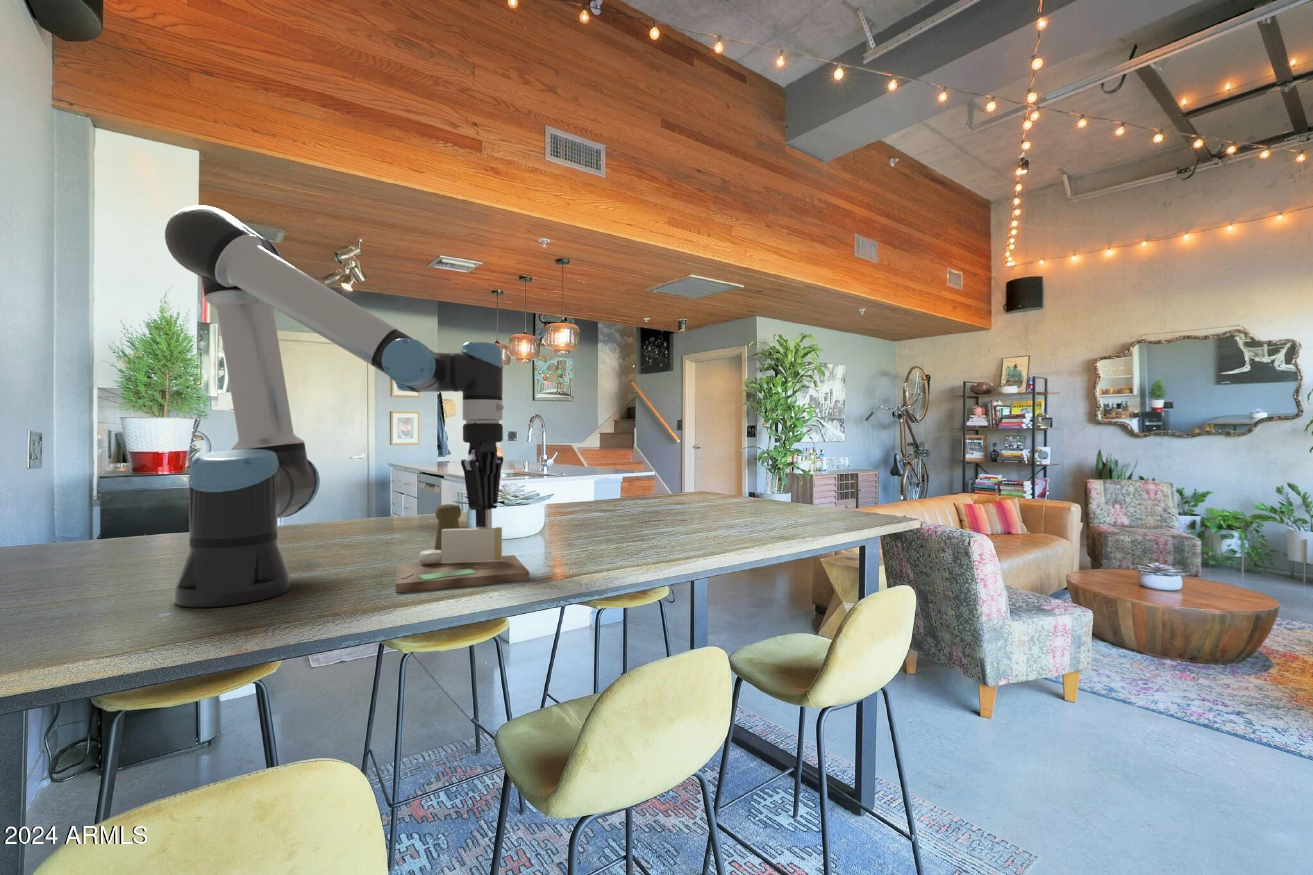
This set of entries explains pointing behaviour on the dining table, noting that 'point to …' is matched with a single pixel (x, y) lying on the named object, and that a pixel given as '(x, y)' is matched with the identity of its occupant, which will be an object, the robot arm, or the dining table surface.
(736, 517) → the dining table surface
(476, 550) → the cream block with knob
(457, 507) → the cork
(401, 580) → the brown flat wooden board
